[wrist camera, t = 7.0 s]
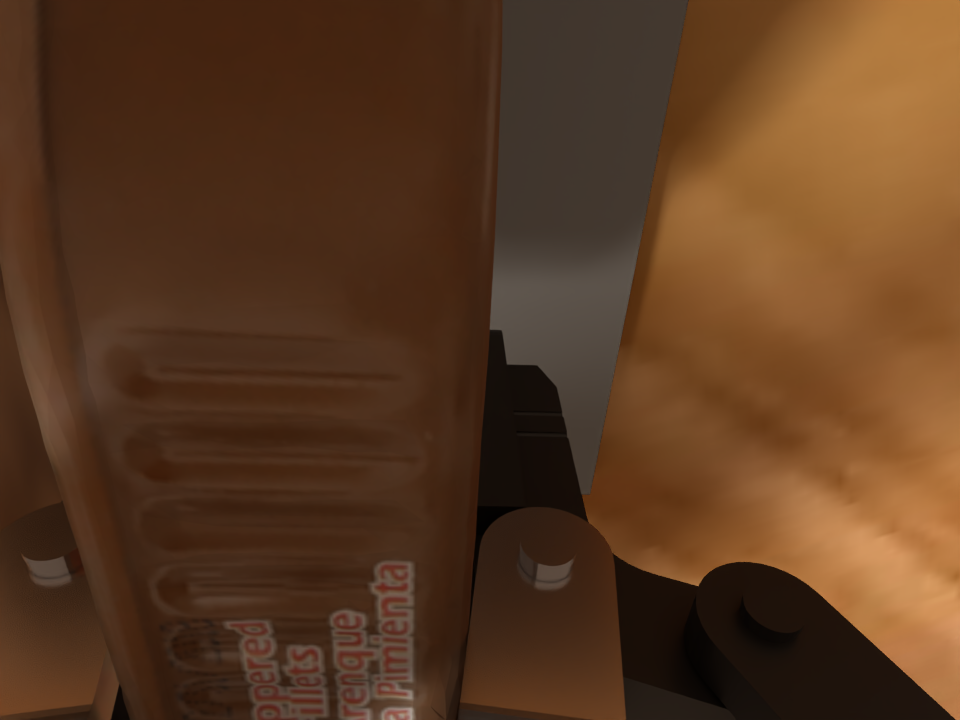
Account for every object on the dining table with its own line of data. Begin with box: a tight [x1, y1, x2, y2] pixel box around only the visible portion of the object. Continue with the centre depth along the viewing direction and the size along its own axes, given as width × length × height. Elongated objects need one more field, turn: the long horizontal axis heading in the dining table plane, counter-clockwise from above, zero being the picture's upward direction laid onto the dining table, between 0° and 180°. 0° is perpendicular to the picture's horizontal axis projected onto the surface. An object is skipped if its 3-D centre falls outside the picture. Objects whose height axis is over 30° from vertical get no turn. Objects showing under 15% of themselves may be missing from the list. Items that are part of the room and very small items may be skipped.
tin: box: [0, 0, 503, 720], centre depth 9 cm, size 15×3×8 cm, turn 176°
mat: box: [490, 0, 688, 495], centre depth 16 cm, size 20×14×1 cm
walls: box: [0, 265, 62, 532], centre depth 13 cm, size 20×14×6 cm
